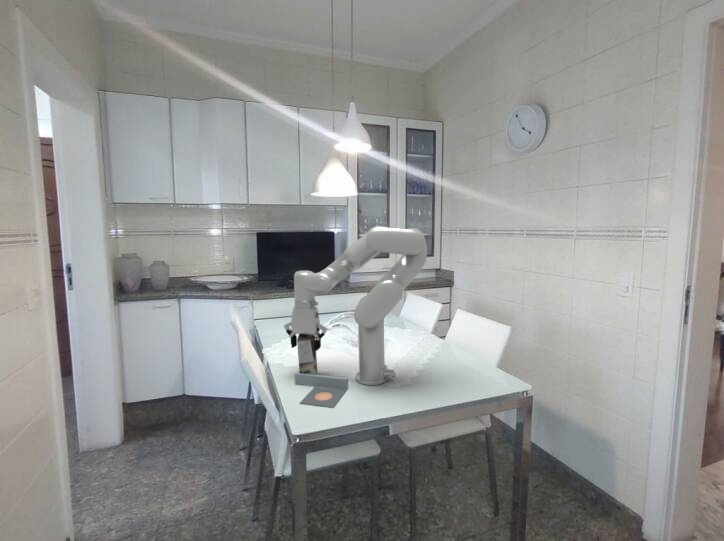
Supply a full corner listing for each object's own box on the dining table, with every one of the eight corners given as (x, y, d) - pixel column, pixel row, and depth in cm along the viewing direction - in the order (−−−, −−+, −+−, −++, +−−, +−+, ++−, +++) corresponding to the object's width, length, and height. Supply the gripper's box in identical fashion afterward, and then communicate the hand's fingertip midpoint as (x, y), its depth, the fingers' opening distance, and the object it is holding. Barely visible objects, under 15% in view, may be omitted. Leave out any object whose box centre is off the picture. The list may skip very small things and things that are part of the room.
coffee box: (317, 380, 144) (314, 339, 141) (299, 382, 143) (296, 340, 141) (317, 371, 153) (315, 331, 150) (301, 372, 152) (298, 333, 150)
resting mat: (346, 391, 135) (346, 390, 135) (333, 408, 123) (333, 406, 123) (314, 387, 138) (314, 386, 138) (299, 403, 127) (299, 402, 127)
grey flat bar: (348, 388, 137) (347, 378, 136) (346, 390, 136) (346, 379, 135) (296, 383, 143) (296, 372, 142) (295, 384, 141) (294, 374, 141)
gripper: (330, 303, 145) (330, 347, 148) (288, 300, 150) (289, 342, 153) (322, 308, 138) (323, 353, 141) (279, 304, 143) (280, 349, 145)
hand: (305, 348), depth 147 cm, fingers open, 9 cm apart
